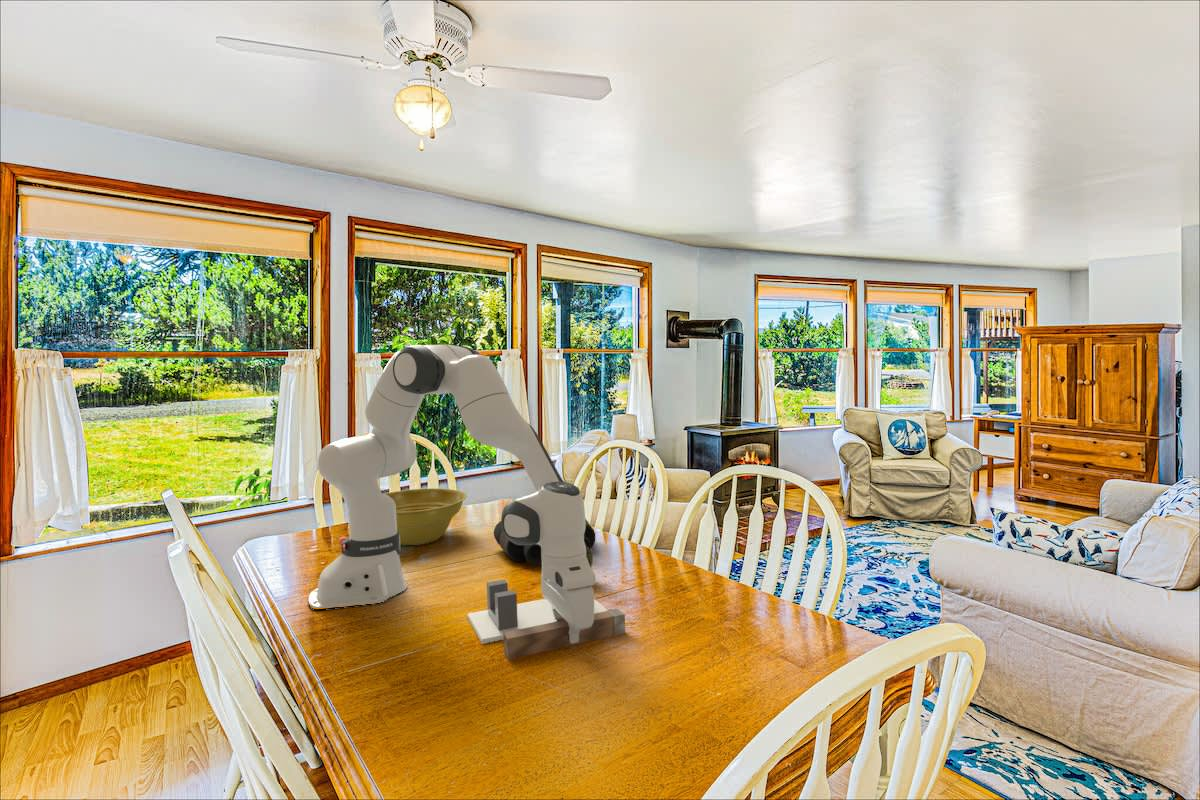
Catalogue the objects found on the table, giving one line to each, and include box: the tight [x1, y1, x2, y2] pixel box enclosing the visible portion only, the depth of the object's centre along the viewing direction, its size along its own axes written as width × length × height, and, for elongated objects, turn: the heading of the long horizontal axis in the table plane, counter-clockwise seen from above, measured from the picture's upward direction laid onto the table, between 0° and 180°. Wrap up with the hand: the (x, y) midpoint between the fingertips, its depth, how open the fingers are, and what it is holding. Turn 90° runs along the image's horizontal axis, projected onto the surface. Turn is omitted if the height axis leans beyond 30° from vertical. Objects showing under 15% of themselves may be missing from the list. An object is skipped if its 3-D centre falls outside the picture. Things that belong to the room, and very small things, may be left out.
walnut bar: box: [503, 608, 626, 660], centre depth 121 cm, size 24×3×4 cm, turn 114°
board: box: [467, 579, 608, 645], centre depth 133 cm, size 28×14×8 cm, turn 114°
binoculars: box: [493, 518, 596, 566], centre depth 177 cm, size 29×20×10 cm
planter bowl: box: [384, 487, 468, 546], centre depth 196 cm, size 32×32×13 cm
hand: (566, 633), depth 121 cm, fingers open, 6 cm apart
